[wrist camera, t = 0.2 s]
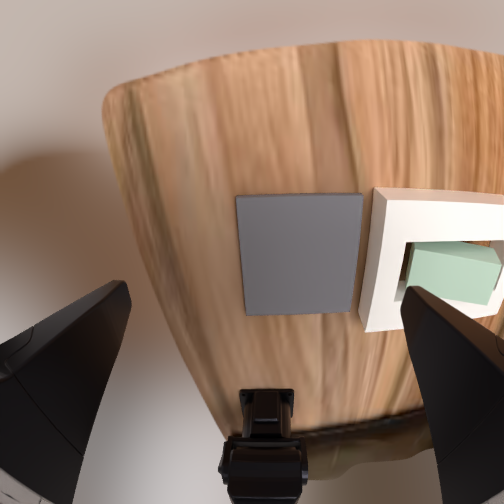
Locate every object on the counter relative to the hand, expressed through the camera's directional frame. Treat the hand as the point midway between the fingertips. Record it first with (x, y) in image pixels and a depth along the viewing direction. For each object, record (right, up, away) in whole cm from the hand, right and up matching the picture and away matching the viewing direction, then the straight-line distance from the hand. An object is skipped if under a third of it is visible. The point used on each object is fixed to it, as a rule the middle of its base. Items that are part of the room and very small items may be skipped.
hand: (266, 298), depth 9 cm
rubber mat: (+4, +1, +16) cm, 16 cm away
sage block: (+17, +1, +13) cm, 22 cm away
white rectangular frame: (+17, +1, +15) cm, 23 cm away
